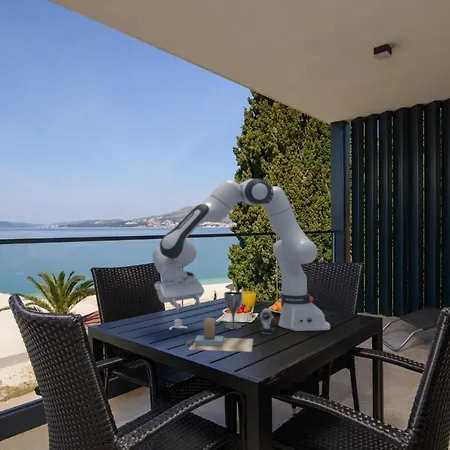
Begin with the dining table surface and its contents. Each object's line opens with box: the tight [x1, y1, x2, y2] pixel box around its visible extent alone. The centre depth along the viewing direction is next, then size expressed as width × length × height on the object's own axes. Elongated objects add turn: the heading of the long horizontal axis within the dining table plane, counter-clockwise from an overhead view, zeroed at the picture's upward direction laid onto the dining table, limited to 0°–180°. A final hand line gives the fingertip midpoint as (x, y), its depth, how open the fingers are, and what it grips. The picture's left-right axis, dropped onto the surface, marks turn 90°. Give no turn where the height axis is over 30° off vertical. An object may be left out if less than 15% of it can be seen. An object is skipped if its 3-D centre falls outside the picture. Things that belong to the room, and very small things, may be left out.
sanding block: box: [194, 317, 225, 347], centre depth 140 cm, size 10×6×9 cm, turn 84°
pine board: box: [188, 337, 254, 353], centre depth 139 cm, size 22×15×2 cm
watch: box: [259, 308, 275, 335], centre depth 154 cm, size 6×8×11 cm
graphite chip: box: [184, 338, 196, 347], centre depth 140 cm, size 4×5×1 cm
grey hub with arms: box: [168, 318, 188, 330], centre depth 166 cm, size 9×8×4 cm
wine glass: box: [223, 290, 243, 330], centre depth 169 cm, size 8×8×15 cm
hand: (189, 307), depth 148 cm, fingers open, 8 cm apart
